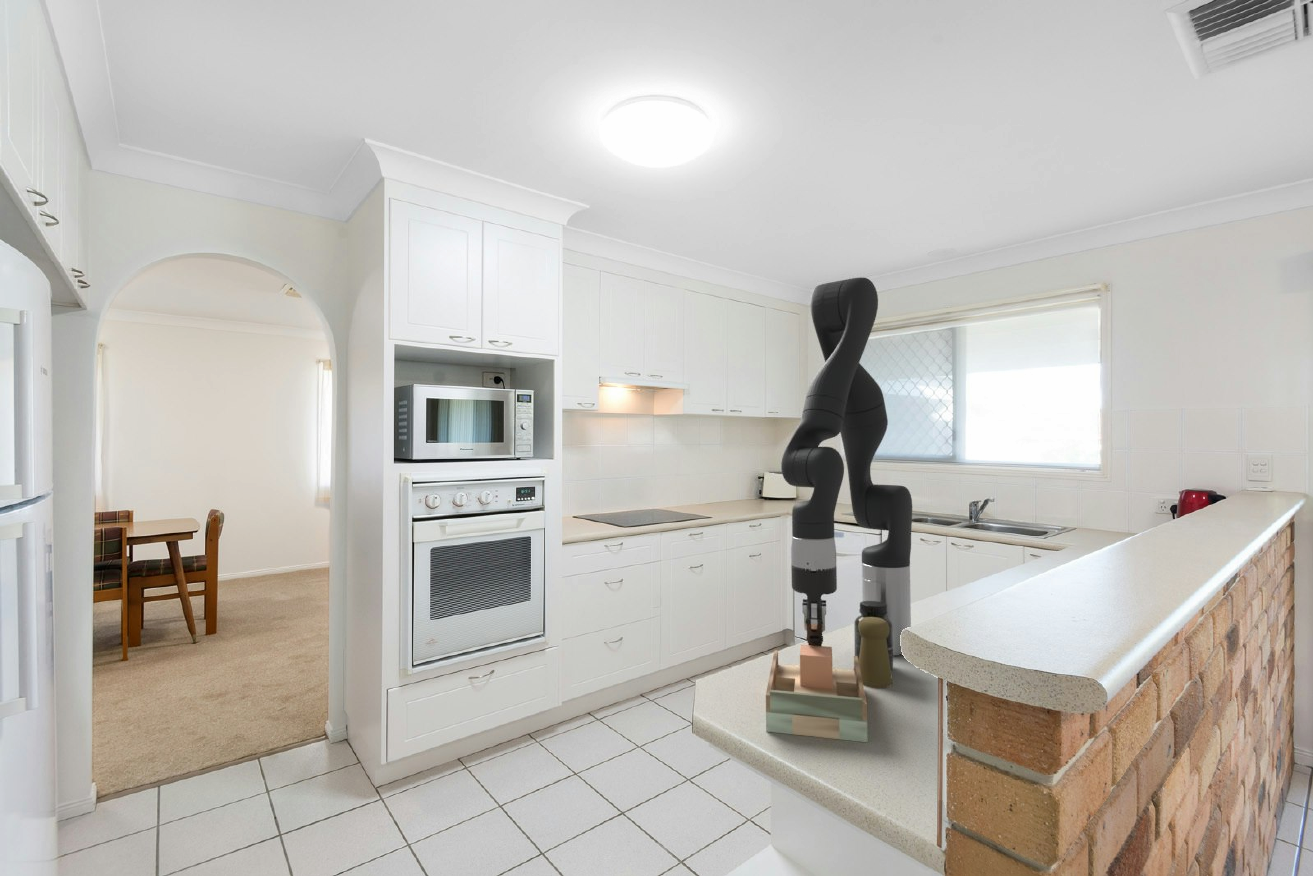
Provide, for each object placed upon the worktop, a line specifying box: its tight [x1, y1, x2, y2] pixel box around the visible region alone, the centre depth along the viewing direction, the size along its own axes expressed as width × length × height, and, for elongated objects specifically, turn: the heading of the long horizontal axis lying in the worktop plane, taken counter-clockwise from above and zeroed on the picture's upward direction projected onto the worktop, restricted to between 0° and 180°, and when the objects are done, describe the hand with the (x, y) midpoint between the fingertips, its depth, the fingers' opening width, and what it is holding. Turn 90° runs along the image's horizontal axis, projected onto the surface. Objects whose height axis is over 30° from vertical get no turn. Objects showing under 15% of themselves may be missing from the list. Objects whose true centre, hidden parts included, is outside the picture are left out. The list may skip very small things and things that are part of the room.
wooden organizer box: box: [765, 649, 868, 743], centre depth 98 cm, size 20×14×6 cm
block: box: [799, 644, 833, 689], centre depth 101 cm, size 5×5×5 cm
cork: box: [858, 617, 894, 689], centre depth 108 cm, size 6×6×11 cm
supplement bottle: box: [853, 601, 894, 672], centre depth 114 cm, size 7×7×12 cm
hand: (815, 663), depth 106 cm, fingers closed
